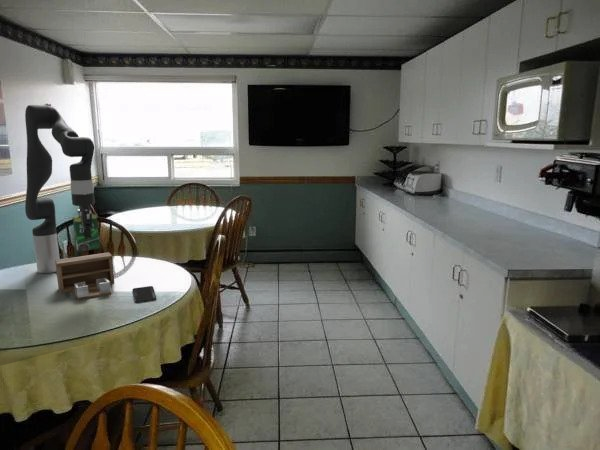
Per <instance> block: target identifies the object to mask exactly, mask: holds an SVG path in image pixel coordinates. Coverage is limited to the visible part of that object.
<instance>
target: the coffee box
mask: <svg viewBox="0 0 600 450" xmlns="http://www.w3.org/2000/svg"><path fill="white" fill-rule="evenodd" d="M72 222H73V223H72V224H73V231H74V239H75V245H76V246H75V247H76V251H77V252H78V253H80V252H85V251H91V250H99V249H101V243H100V234H99V227H98V226H99V225H98V219H97V215H96V214H92V227H91V228H90V229H91V238H88V239H86V238H85V237H84V228H83V223H82V222H81V217H79V216H73V217H72ZM88 224H89V223H86V225H88Z"/></svg>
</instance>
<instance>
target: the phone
mask: <svg viewBox="0 0 600 450" xmlns="http://www.w3.org/2000/svg"><path fill="white" fill-rule="evenodd" d="M132 295H133V301H134V303H136V304H140V303H147V302H154V301H156V300H157V295H156V292H155V289H154V286H153V285H149V286H141V287H134V288H132Z"/></svg>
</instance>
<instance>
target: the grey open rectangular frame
mask: <svg viewBox="0 0 600 450" xmlns="http://www.w3.org/2000/svg"><path fill="white" fill-rule="evenodd" d="M96 287H97V290H99V291H100V294H102V293H107V292H111V293H112V290H111V284H110V282H109V281H108V280H107V278H102V279H97V280H96ZM74 289H75V294H76V296H77V298H81V297H86V296H89V292H88V286H85V282H80V283H74Z"/></svg>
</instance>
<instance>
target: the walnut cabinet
mask: <svg viewBox="0 0 600 450" xmlns="http://www.w3.org/2000/svg"><path fill="white" fill-rule="evenodd" d="M55 263H56V272H55V273H56V279H57V280H56V281H57V286H58V287H57V288H58V291H59V293H61V294H64V293H69V292H72V293H73V295H74V297H75V298H76V300H77V301H82V300H87V299H94V298H98V297H103V296H107V295H112V291H111V292H107V293H102V294H100V291H99V290H97V287H96V280H97V279H102V278H107V280H108V281H109V282H110V285H113V284H115V276H114V275H115V274H114V264H113V255H112V254H111V253H110V252H109V251H108V252H103V253H96V254H89V255H82V256H74V257H68V258H60V260H55ZM80 282H85V286H88V292H89V296H86V297H81V298H77V296H76V294H75V289H74V283H80Z"/></svg>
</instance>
